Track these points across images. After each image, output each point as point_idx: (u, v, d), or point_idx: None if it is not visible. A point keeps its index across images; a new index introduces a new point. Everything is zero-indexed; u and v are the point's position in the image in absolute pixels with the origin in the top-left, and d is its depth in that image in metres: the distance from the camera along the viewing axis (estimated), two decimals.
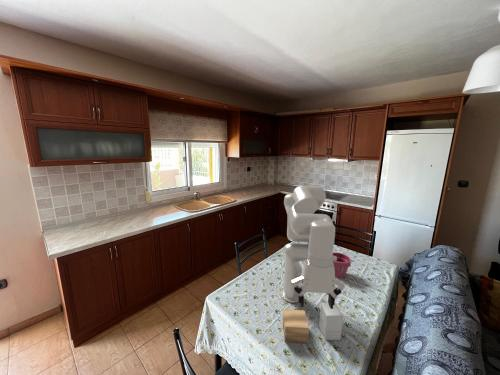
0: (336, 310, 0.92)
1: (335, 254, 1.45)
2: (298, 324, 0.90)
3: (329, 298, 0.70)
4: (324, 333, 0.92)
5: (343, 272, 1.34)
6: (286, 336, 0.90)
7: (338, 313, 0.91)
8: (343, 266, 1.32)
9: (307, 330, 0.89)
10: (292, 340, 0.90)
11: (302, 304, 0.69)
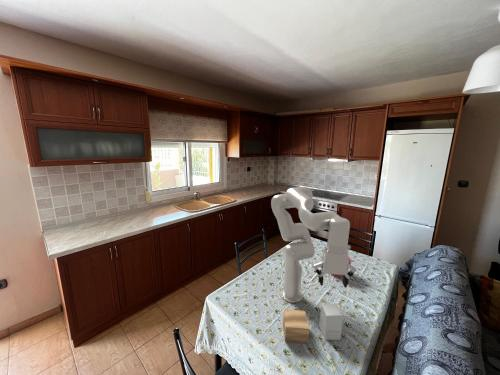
0: (336, 310, 0.92)
1: None
2: (298, 325, 0.90)
3: (343, 279, 0.88)
4: (324, 333, 0.92)
5: None
6: (286, 336, 0.90)
7: (338, 313, 0.91)
8: None
9: (307, 331, 0.89)
10: (292, 340, 0.90)
11: (322, 283, 0.87)
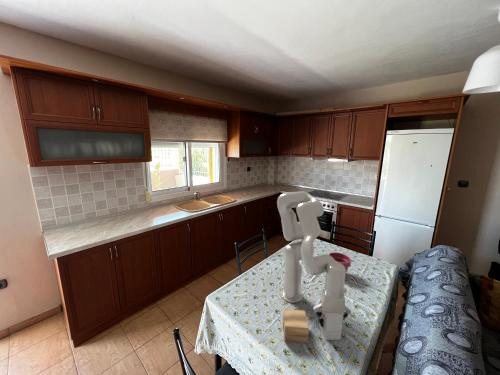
0: None
1: (335, 254, 1.45)
2: (297, 324, 0.91)
3: None
4: (324, 333, 0.92)
5: None
6: (286, 336, 0.90)
7: (338, 313, 0.91)
8: None
9: (307, 330, 0.89)
10: (292, 340, 0.90)
11: (322, 325, 0.93)
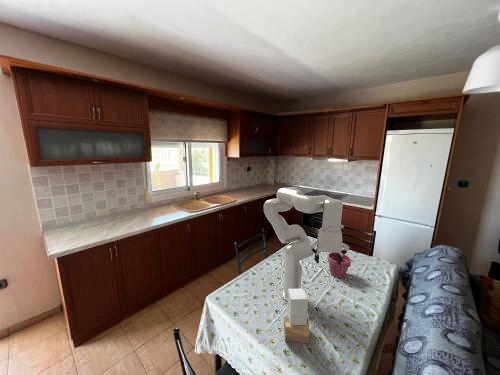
0: (302, 295, 0.90)
1: (335, 254, 1.45)
2: (298, 326, 0.90)
3: (337, 257, 0.94)
4: (290, 318, 0.90)
5: (343, 272, 1.34)
6: (286, 337, 0.90)
7: (303, 297, 0.89)
8: (343, 266, 1.32)
9: (307, 332, 0.88)
10: (292, 341, 0.90)
11: (318, 261, 0.93)
